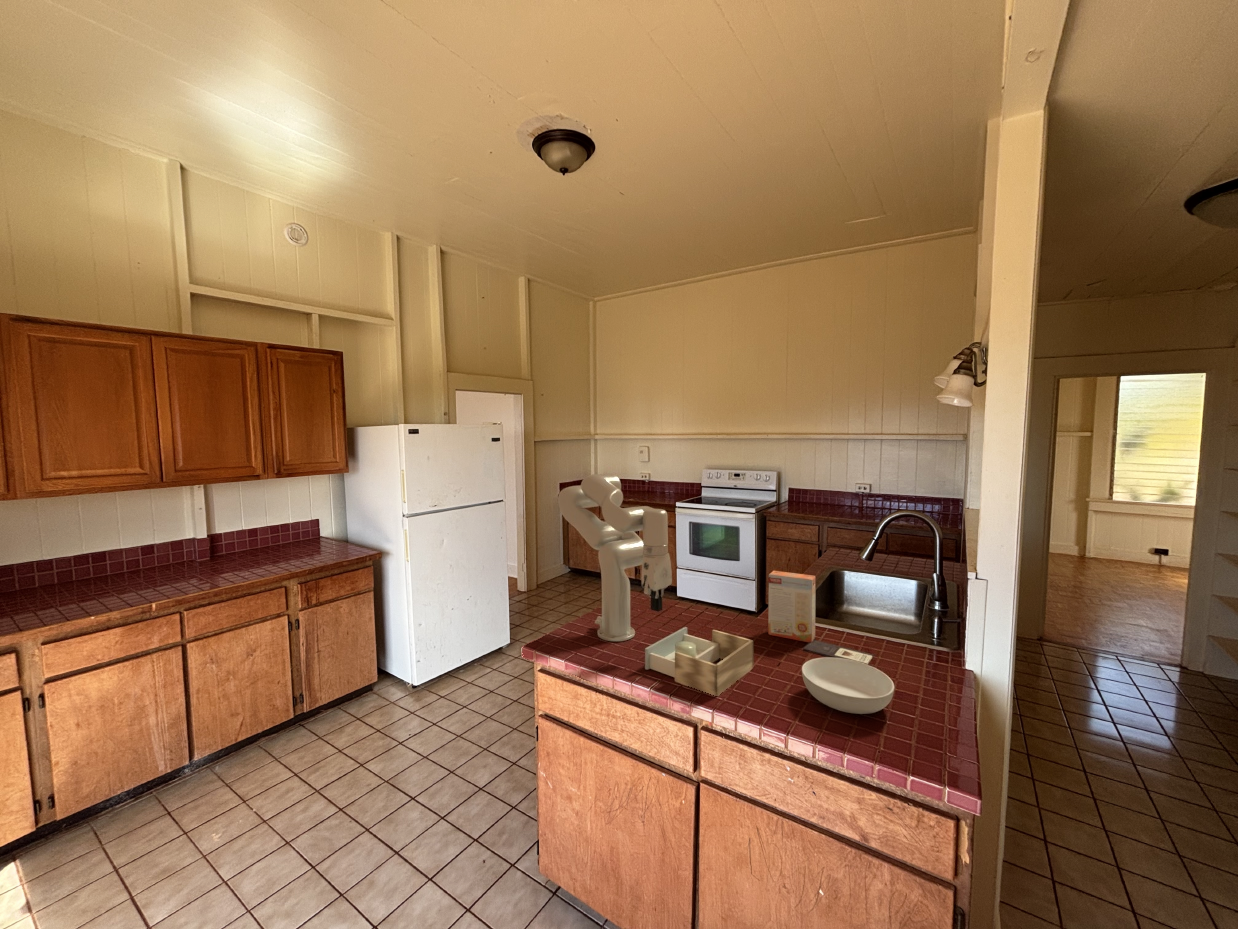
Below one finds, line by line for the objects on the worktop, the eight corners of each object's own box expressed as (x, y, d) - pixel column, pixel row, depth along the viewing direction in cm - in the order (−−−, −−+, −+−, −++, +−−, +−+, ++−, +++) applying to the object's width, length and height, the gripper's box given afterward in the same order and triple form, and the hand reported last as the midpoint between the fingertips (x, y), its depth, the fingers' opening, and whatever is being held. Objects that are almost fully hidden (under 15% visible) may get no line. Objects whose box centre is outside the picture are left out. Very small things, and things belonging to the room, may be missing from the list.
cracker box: (815, 637, 163) (816, 575, 162) (811, 644, 158) (812, 579, 157) (772, 629, 171) (773, 569, 169) (767, 635, 165) (768, 573, 164)
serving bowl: (850, 735, 109) (850, 705, 109) (783, 691, 129) (784, 665, 128) (914, 714, 118) (914, 686, 117) (842, 675, 137) (843, 651, 136)
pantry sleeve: (674, 681, 134) (674, 652, 133) (713, 655, 150) (713, 629, 150) (717, 697, 126) (717, 666, 125) (753, 667, 142) (753, 640, 141)
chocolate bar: (812, 639, 160) (873, 654, 149) (812, 642, 160) (873, 657, 149) (802, 648, 153) (866, 665, 142) (802, 651, 153) (866, 668, 142)
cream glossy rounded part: (671, 661, 144) (671, 646, 143) (682, 654, 148) (682, 639, 148) (688, 667, 140) (688, 651, 140) (699, 659, 144) (699, 645, 144)
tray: (645, 669, 140) (645, 648, 140) (685, 645, 156) (685, 626, 156) (683, 683, 132) (683, 661, 132) (721, 656, 148) (721, 637, 148)
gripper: (650, 556, 141) (651, 619, 142) (679, 547, 153) (680, 606, 153) (630, 552, 146) (631, 614, 147) (659, 544, 157) (660, 601, 158)
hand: (656, 610), depth 150 cm, fingers closed
